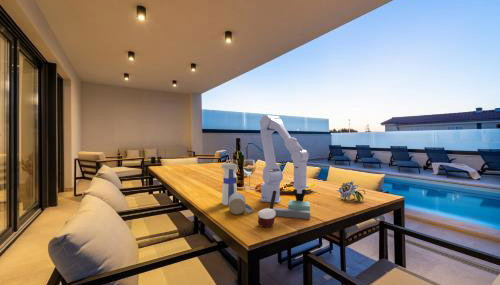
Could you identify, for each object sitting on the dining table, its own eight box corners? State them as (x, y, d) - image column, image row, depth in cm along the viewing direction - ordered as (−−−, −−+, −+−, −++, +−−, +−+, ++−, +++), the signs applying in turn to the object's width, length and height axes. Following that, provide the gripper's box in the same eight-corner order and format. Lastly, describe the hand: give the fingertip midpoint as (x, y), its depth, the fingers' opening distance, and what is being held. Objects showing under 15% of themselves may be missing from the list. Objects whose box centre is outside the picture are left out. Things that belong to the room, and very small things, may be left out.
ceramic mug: (228, 215, 92) (229, 197, 92) (228, 209, 100) (228, 192, 100) (253, 215, 93) (254, 197, 93) (251, 209, 101) (251, 192, 101)
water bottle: (235, 199, 116) (235, 151, 115) (239, 204, 108) (240, 153, 107) (219, 201, 113) (220, 152, 113) (223, 205, 105) (223, 153, 105)
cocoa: (259, 231, 78) (259, 198, 77) (252, 224, 84) (252, 193, 83) (283, 226, 82) (282, 194, 81) (274, 219, 88) (274, 189, 87)
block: (288, 213, 96) (288, 204, 96) (289, 208, 102) (289, 200, 102) (309, 215, 93) (309, 206, 93) (309, 210, 100) (309, 201, 100)
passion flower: (344, 209, 118) (331, 189, 123) (356, 203, 123) (344, 184, 128) (359, 202, 109) (345, 181, 114) (372, 196, 114) (358, 175, 119)
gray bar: (272, 215, 93) (272, 209, 93) (273, 213, 95) (273, 207, 95) (309, 219, 89) (310, 213, 89) (309, 217, 92) (309, 211, 91)
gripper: (309, 179, 94) (308, 211, 95) (308, 174, 108) (308, 201, 109) (292, 178, 96) (291, 209, 96) (294, 173, 110) (293, 200, 110)
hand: (299, 205), depth 103 cm, fingers closed
